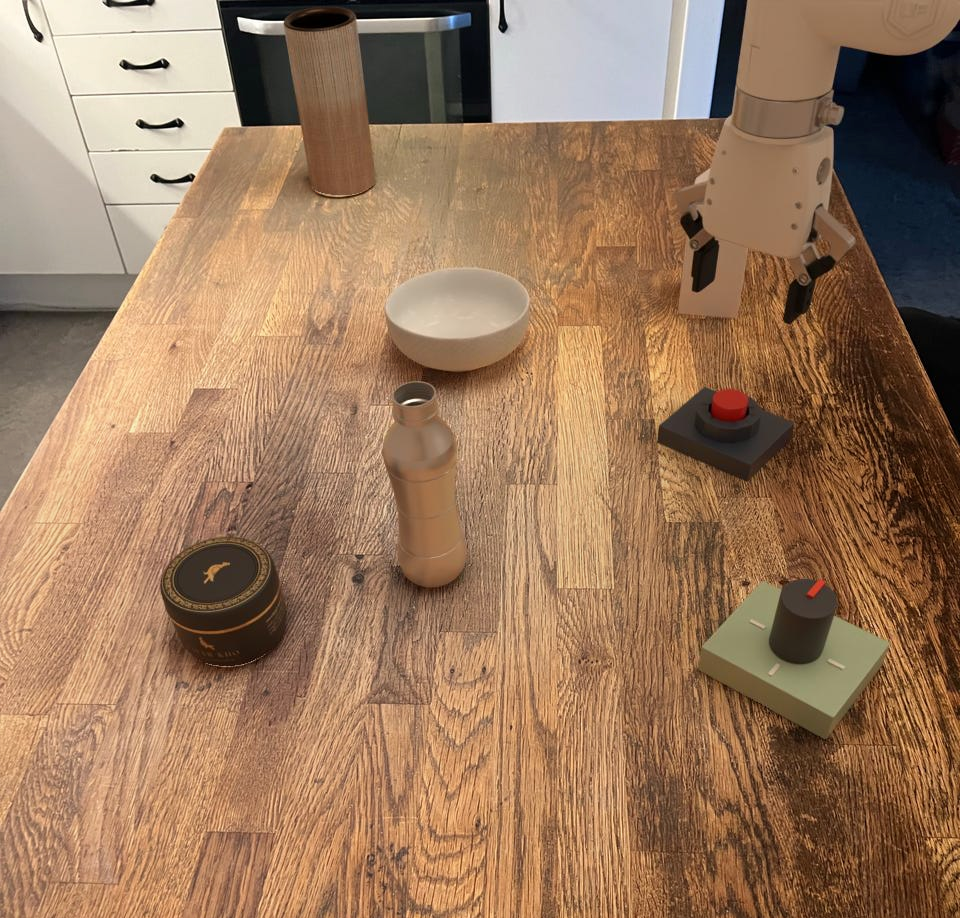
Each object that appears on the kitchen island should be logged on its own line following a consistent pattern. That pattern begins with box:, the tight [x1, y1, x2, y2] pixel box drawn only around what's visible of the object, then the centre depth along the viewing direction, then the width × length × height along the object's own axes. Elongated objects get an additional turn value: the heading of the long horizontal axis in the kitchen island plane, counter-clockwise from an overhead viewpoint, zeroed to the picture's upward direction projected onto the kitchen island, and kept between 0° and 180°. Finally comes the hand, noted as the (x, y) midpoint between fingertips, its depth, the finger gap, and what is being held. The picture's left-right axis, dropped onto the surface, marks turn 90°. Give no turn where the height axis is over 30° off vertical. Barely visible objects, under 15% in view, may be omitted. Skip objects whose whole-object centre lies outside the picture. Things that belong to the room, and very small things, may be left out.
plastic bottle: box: [381, 380, 468, 588], centre depth 87 cm, size 6×7×20 cm
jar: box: [159, 536, 287, 666], centre depth 88 cm, size 10×10×8 cm
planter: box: [283, 6, 377, 195], centre depth 145 cm, size 10×10×23 cm
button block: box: [656, 386, 795, 483], centre depth 105 cm, size 11×9×4 cm
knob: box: [769, 578, 839, 664], centre depth 80 cm, size 4×4×6 cm
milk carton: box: [677, 167, 749, 319], centre depth 116 cm, size 7×7×19 cm
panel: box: [697, 580, 891, 740], centre depth 84 cm, size 12×10×3 cm
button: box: [711, 388, 749, 422], centre depth 103 cm, size 4×4×2 cm
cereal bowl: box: [384, 266, 531, 373], centre depth 117 cm, size 17×17×7 cm
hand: (747, 301), depth 94 cm, fingers open, 9 cm apart
